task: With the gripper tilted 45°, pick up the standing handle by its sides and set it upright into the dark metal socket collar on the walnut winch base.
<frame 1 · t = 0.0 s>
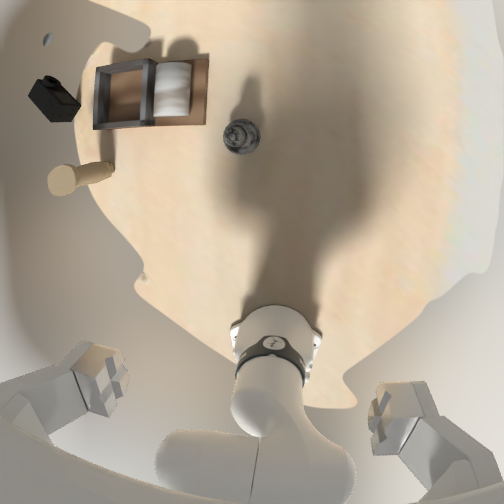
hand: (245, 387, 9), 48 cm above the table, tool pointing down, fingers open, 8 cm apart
winch base: (154, 95, 52), on the table
handle: (109, 169, 58), on the table
dark grey chess piece: (244, 137, 53), on the table
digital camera: (66, 98, 54), on the table
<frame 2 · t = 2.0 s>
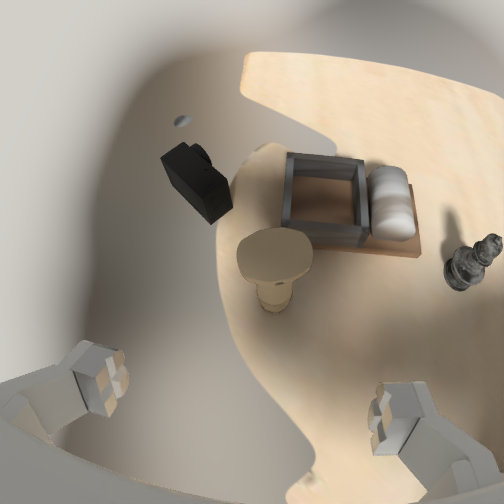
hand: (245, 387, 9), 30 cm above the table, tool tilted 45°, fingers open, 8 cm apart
winch base: (351, 214, 45), on the table
handle: (274, 302, 41), on the table
dark grey chess piece: (457, 274, 40), on the table
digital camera: (204, 194, 49), on the table
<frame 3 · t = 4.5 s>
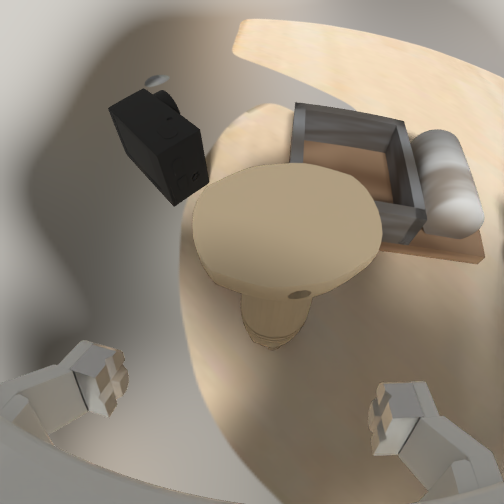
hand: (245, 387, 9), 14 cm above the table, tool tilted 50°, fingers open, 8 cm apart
winch base: (386, 198, 29), on the table
handle: (270, 330, 24), on the table
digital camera: (169, 165, 32), on the table
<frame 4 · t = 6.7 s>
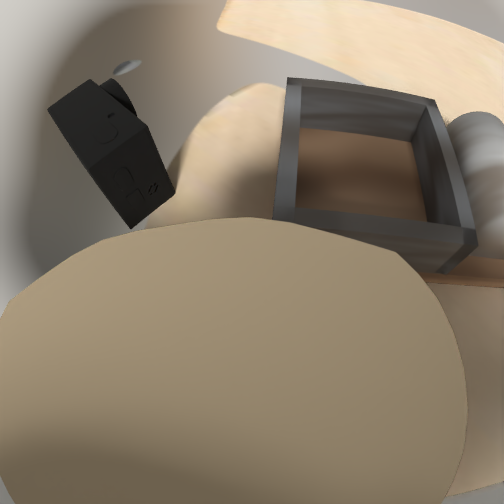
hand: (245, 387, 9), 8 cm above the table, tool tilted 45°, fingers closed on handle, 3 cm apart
winch base: (415, 204, 21), on the table
handle: (256, 401, 17), on the table, touching gripper
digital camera: (129, 173, 24), on the table
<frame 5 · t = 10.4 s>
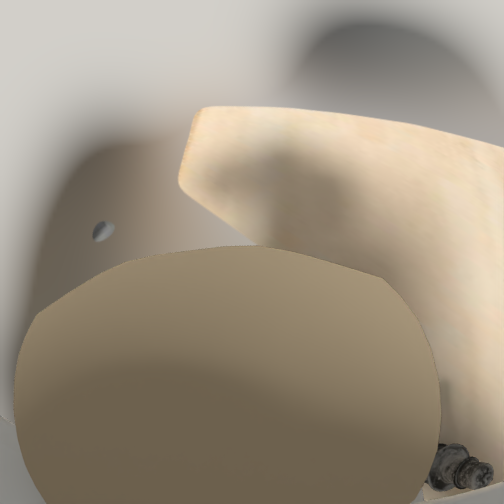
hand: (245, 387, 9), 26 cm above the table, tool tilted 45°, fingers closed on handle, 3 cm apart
handle: (256, 400, 17), point 17 cm above the table, touching gripper
dark grey chess piece: (434, 463, 27), on the table
when the fingers open (11 cm above the table, at t = 14.0 s): handle stays where it is, resting on winch base.
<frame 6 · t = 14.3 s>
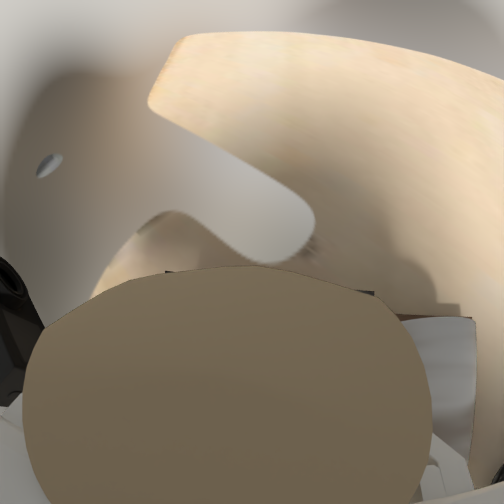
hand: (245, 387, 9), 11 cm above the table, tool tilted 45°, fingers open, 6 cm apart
winch base: (328, 405, 18), on the table
handle: (256, 404, 17), point 1 cm above the table, touching winch base
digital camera: (37, 341, 21), on the table
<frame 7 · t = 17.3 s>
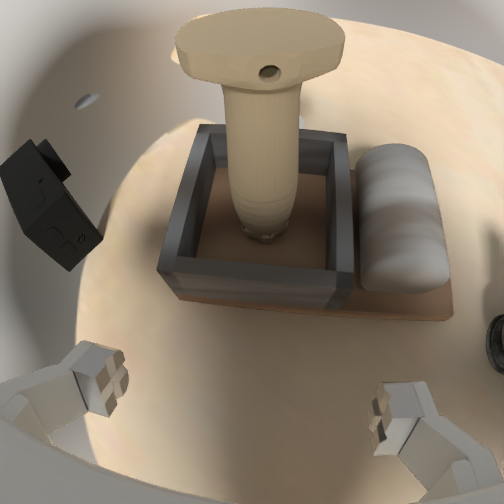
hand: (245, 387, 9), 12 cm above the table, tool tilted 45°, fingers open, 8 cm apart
winch base: (323, 238, 24), on the table
handle: (264, 227, 24), point 1 cm above the table, touching winch base
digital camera: (69, 219, 27), on the table
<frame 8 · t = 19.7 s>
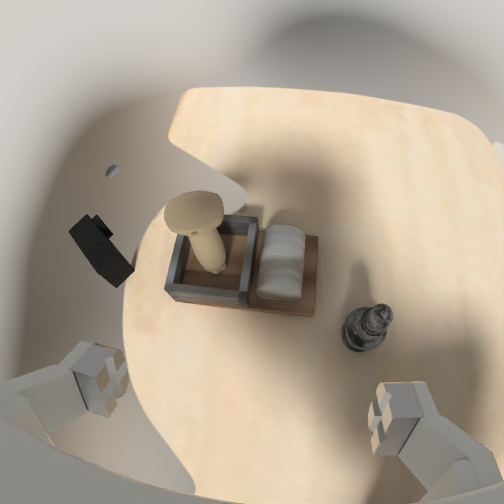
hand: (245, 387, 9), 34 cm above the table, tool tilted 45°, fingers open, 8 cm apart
winch base: (247, 270, 48), on the table
handle: (216, 266, 47), point 1 cm above the table, touching winch base
dark grey chess piece: (359, 333, 43), on the table
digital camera: (113, 258, 51), on the table
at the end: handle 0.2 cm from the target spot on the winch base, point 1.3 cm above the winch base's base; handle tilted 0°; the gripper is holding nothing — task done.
